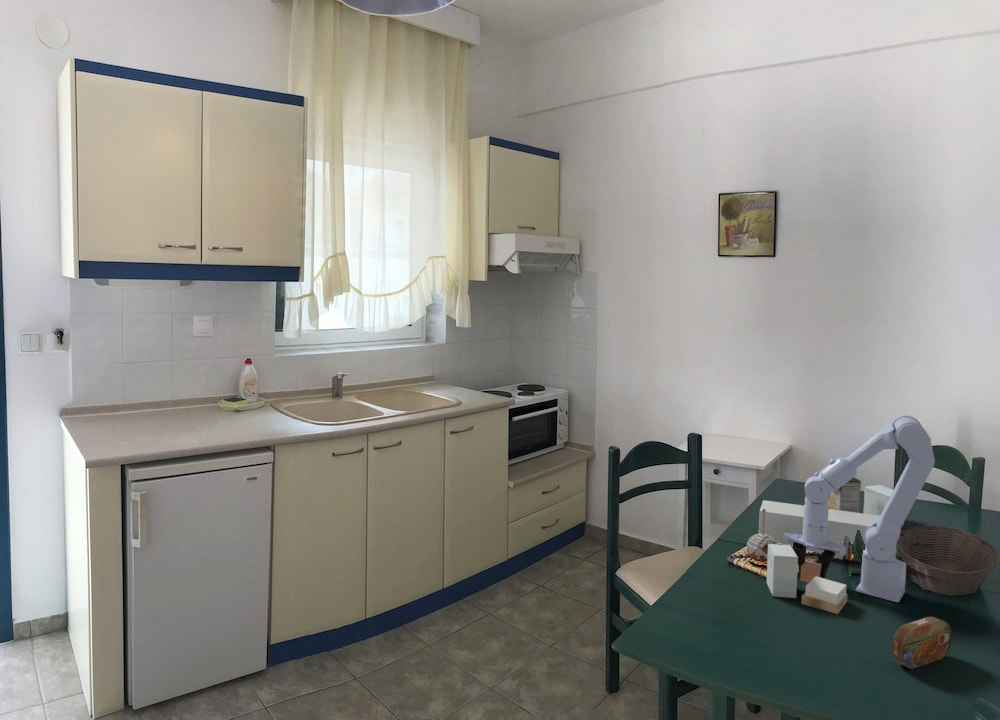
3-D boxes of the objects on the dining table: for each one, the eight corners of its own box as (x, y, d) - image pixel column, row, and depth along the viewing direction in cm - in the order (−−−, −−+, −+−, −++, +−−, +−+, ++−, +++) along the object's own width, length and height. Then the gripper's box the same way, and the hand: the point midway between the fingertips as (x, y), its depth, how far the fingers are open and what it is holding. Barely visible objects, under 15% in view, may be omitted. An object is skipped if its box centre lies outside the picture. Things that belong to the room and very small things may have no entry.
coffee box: (824, 520, 218) (827, 472, 216) (844, 521, 218) (847, 472, 216) (837, 531, 209) (841, 480, 207) (858, 531, 209) (862, 480, 207)
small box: (796, 599, 164) (798, 557, 163) (772, 597, 166) (774, 555, 164) (789, 584, 172) (791, 544, 171) (766, 582, 173) (767, 543, 172)
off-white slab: (845, 594, 162) (846, 584, 162) (836, 604, 157) (837, 594, 157) (815, 586, 167) (815, 576, 167) (805, 595, 162) (805, 585, 162)
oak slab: (846, 604, 163) (847, 594, 163) (837, 616, 157) (838, 606, 157) (811, 594, 168) (812, 584, 168) (801, 605, 162) (801, 595, 162)
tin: (902, 673, 133) (905, 633, 132) (887, 665, 136) (890, 625, 135) (952, 656, 139) (955, 617, 138) (937, 649, 142) (940, 611, 141)
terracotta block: (824, 579, 175) (824, 565, 174) (818, 585, 172) (819, 570, 171) (805, 575, 178) (806, 560, 177) (800, 580, 174) (801, 565, 174)
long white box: (757, 546, 198) (759, 510, 196) (761, 534, 207) (763, 500, 206) (883, 567, 184) (886, 528, 182) (881, 552, 193) (884, 516, 192)
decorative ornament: (763, 570, 181) (766, 516, 179) (740, 560, 187) (742, 507, 186) (783, 564, 185) (785, 510, 183) (759, 554, 191) (761, 502, 190)
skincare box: (861, 517, 222) (863, 485, 220) (878, 515, 223) (880, 484, 222) (887, 528, 212) (889, 495, 210) (904, 526, 213) (906, 494, 212)
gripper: (780, 521, 175) (778, 572, 176) (841, 535, 165) (838, 588, 167) (789, 514, 180) (787, 563, 182) (849, 527, 171) (846, 579, 172)
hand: (812, 575), depth 175 cm, fingers closed on terracotta block, 4 cm apart
